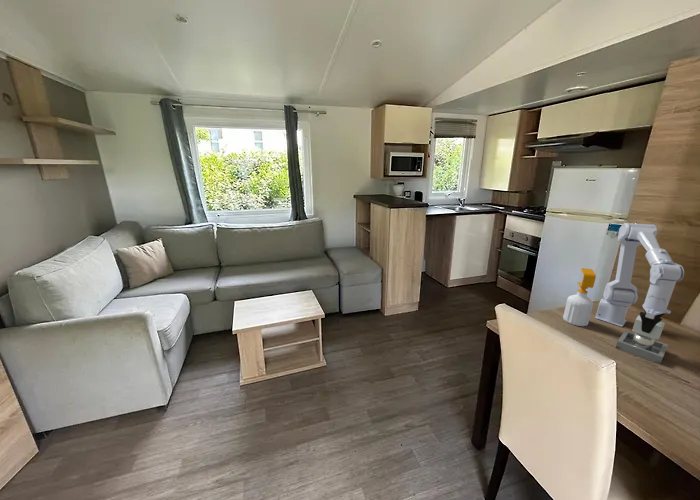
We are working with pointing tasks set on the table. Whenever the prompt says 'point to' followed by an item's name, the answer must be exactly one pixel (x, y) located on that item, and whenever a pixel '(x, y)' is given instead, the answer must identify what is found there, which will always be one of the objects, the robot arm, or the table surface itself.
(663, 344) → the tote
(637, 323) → the pale upright block
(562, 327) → the table surface
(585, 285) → the soap bottle
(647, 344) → the metal can
